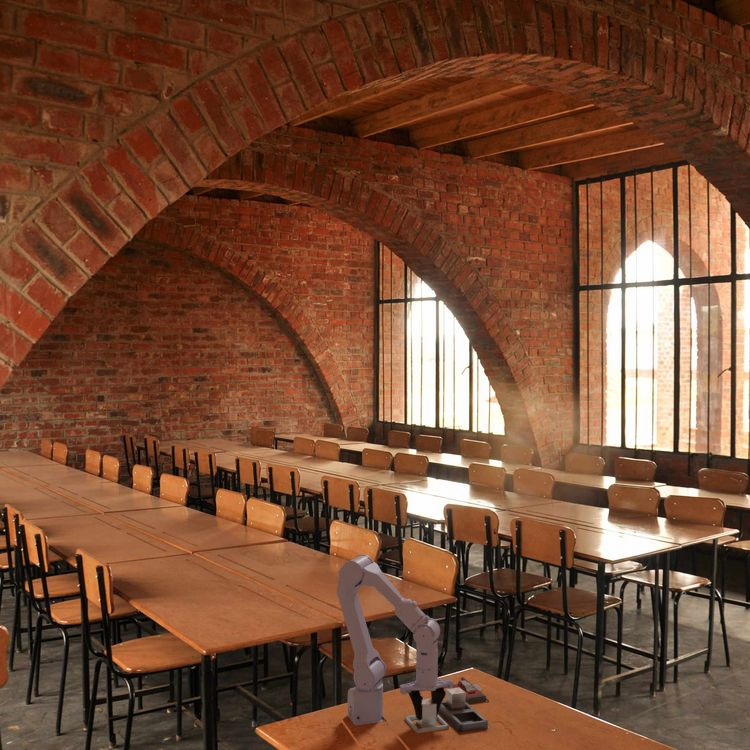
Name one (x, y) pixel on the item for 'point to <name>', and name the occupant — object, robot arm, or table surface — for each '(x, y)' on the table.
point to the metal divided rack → (464, 718)
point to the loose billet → (428, 713)
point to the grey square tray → (444, 726)
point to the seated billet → (455, 699)
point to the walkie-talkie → (471, 691)
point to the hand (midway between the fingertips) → (426, 717)
